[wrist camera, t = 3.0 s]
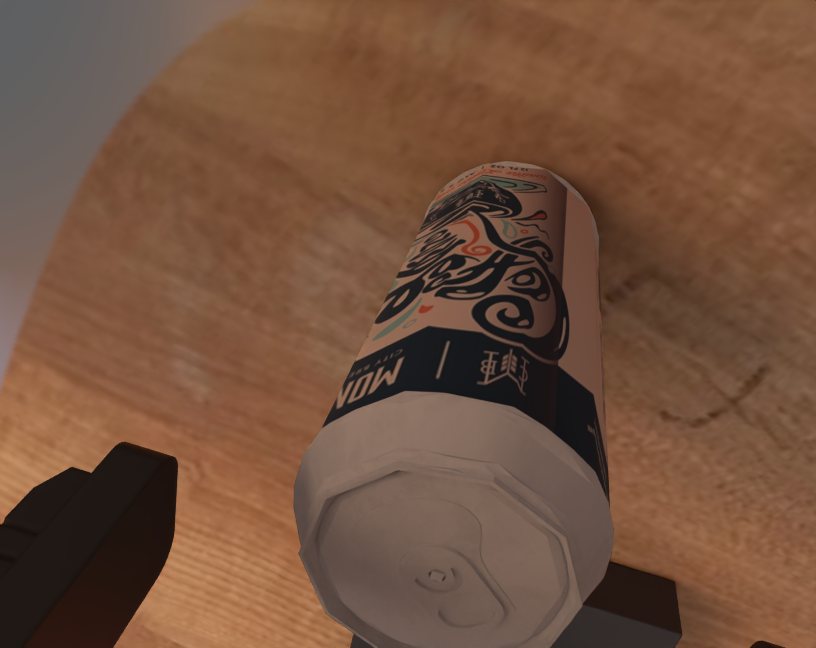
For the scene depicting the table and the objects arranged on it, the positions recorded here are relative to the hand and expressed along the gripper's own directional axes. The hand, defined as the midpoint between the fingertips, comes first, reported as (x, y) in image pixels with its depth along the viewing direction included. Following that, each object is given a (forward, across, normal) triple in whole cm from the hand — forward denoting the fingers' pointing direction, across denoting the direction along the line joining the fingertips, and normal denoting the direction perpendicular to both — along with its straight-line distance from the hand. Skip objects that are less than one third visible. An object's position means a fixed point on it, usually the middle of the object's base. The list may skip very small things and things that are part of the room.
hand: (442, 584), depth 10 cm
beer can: (+12, 0, 0) cm, 12 cm away
